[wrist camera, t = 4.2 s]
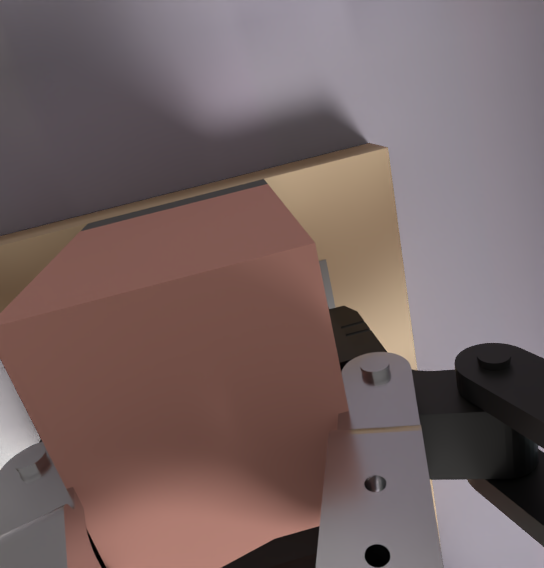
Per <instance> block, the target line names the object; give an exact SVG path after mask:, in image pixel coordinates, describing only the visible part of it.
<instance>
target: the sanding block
mask: <svg viewBox="0 0 544 568" xmlns="http://www.w3.org/2000/svg"><path fill="white" fill-rule="evenodd" d="M0 359H1V361H2V363H3V365H4V367H5V369H6V371H7V373H8V375H9V377H10V379H11V381H12V383H13V385H14V387H15V389H16V391H17V393H18V395H19V397H20V399H21V400H22V402H23V404H24V406H25V408H26V410H27V412H28V414H29V416H30V418H31V420H32V422H33V424H34V426H35V428H36V430H37V432H38V434H39V436H40V438H41V440H42V442H43V444H44V446H45V448H46V450H47V452H48V454H49V456H50V458H51V460H52V462H53V464H54V466H55V468H56V469H57V471H58V473H59V475H60V477H61V479H62V481H63V483H64V485H65V487H66V489H68V488H71V487H73V488H74V490H75V492H76V494H77V496H78V498H79V500H80V502H81V504H82V506H83V508H84V514H85V522H86V529H87V531H88V533H89V535H90V537H91V539H92V540H93V542H94V544H95V546H96V548H97V550H98V552H99V554H100V556H101V558H102V560H103V562H104V564H105V566H106V568H221V567H223V566H225V565H227V564H229V563H230V562H232V561H234V560H236V559H238V558H240V557H242V556H244V555H245V554H247V553H249V552H251V551H253V550H255V549H257V548H258V547H260V546H262V545H264V544H266V543H268V542H270V541H271V540H273V539H276V538H279V537H283V536H286V535H290V534H293V533H297V532H300V531H304V530H307V529H311V528H314V527H318V526H320V516H321V506H322V495H323V485H324V474H325V464H326V453H327V443H328V435H329V432H330V430H337V426H338V414H339V413H343V412H347V411H349V408H348V403H347V398H346V393H345V388H344V383H343V378H342V373H341V368H340V363H339V358H338V353H337V349H336V344H335V339H334V334H333V329H332V324H331V319H330V314H329V309H328V304H327V299H326V294H325V289H324V284H323V279H322V274H321V269H320V264H319V259H318V254H317V249H316V244H315V242H314V241H313V240H312V238H311V237H310V236H309V235H308V233H307V232H306V231H305V230H304V228H303V227H302V226H301V225H300V223H299V222H298V221H297V220H296V218H295V217H294V216H293V215H292V213H291V212H290V211H289V210H288V208H287V207H286V206H285V205H284V203H283V202H282V201H281V200H280V198H279V197H278V196H277V195H276V193H275V192H274V191H273V190H272V188H271V187H270V186H269V185H268V183H267V182H266V181H265V180H264V179H262V180H258V181H254V182H250V183H246V184H242V185H238V186H234V187H230V188H226V189H222V190H218V191H214V192H210V193H206V194H202V195H198V196H195V197H191V198H187V199H183V200H179V201H175V202H171V203H167V204H163V205H159V206H155V207H151V208H147V209H143V210H139V211H135V212H131V213H127V214H123V215H120V216H116V217H112V218H108V219H104V220H100V221H96V222H92V223H88V224H87V225H86V226H85V227H84V228H83V229H82V230H81V231H80V232H79V233H78V234H77V235H76V236H75V237H74V238H73V239H72V240H71V241H70V242H69V243H68V244H67V245H66V246H65V247H64V248H63V249H62V250H61V251H60V252H59V253H58V255H57V256H56V257H55V258H54V259H53V260H52V261H51V262H50V263H49V264H48V265H47V266H46V267H45V268H44V269H43V270H42V271H41V272H40V273H39V274H38V275H37V276H36V277H35V278H34V279H33V280H32V281H31V282H30V283H29V284H28V285H27V286H26V287H25V288H24V289H23V290H22V291H21V292H20V294H19V295H18V296H17V297H16V298H15V299H14V300H13V301H12V302H11V303H10V304H9V305H8V306H7V307H6V308H5V309H4V310H3V311H2V312H1V313H0Z"/></svg>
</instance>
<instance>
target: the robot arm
mask: <svg viewBox="0 0 544 568" xmlns="http://www.w3.org/2000/svg"><path fill="white" fill-rule="evenodd" d="M328 309H329V307H328ZM329 314H330V319H331V324H332V329H333V334H334V339H335V344H336V349H337V353H338V358H339V363H340V368H341V373H342V378H343V383H344V388H345V393H346V398H347V403H348V408H349V411H347V412H343V413H339V414H338V426H337V430H330V432H329V435H328V443H327V453H326V464H325V474H324V485H323V495H322V506H321V516H320V526H318V527H314V528H311V529H307V530H304V531H300V532H297V533H293V534H290V535H286V536H283V537H279V538H276V539H273V540H271V541H270V542H268V543H266V544H264V545H262V546H260V547H258V548H257V549H255V550H253V551H251V552H249V553H247V554H245V555H244V556H242V557H240V558H238V559H236V560H234V561H232V562H230V563H229V564H227V565H225V566H223V567H221V568H444V566H443V560H442V553H441V547H440V541H439V535H438V528H437V522H436V516H435V510H434V503H433V497H432V491H431V485H430V480H442V479H467V480H468V482H469V483H470V485H471V486H472V487H473V488H474V489H475V490H476V491H478V492H479V493H480V494H481V495H482V496H484V497H485V498H486V499H487V500H488V501H490V502H491V503H492V504H493V505H494V506H496V507H497V508H498V509H499V510H500V511H502V512H503V513H504V514H505V515H506V516H507V517H509V518H510V519H511V520H512V521H513V522H515V523H516V524H517V525H518V526H519V527H521V528H522V529H523V530H524V531H525V532H527V533H528V534H529V535H530V536H531V537H533V538H534V539H535V540H536V541H537V542H539V543H540V544H541V545H542V546H543V547H544V452H542V451H540V450H539V449H538V445H539V446H541V447H542V448H544V358H541V357H539V356H537V355H535V354H532V353H530V352H528V351H526V350H524V349H521V348H519V347H516V346H512V345H508V344H502V343H485V344H479V345H475V346H471V347H469V348H466V349H465V350H463V351H461V352H460V353H459V354H458V355H457V357H456V359H455V370H443V371H418V370H413V369H411V365H410V363H409V362H408V361H407V360H406V359H405V358H404V357H402V356H400V355H397V354H394V353H389V352H387V351H386V350H385V348H384V347H383V346H382V344H381V343H380V341H379V340H378V339H377V337H376V336H375V335H374V333H373V332H372V331H371V330H370V328H369V327H368V325H367V324H366V322H364V320H363V318H362V317H361V316H360V314H359V313H358V312H357V311H355V310H353V309H351V308H348V307H346V306H340V307H336V308H332V309H329ZM0 568H106V566H105V564H104V562H103V560H102V558H101V556H100V554H99V552H98V550H97V548H96V546H95V544H94V542H93V540H92V539H91V537H90V535H89V533H88V531H87V529H86V522H85V514H84V508H83V506H82V504H81V502H80V500H79V498H78V496H77V494H76V492H75V490H74V488H73V487H71V488H68V489H66V487H65V485H64V483H63V481H62V479H61V477H60V475H59V473H58V471H57V469H56V468H55V466H54V464H53V462H52V460H51V458H50V456H49V454H48V452H47V450H46V448H45V446H44V444H43V442H42V440H40V442H39V443H37V444H35V445H32V446H30V447H28V448H26V449H25V450H23V451H21V452H20V453H18V454H17V455H15V456H14V457H13V458H12V459H10V460H9V461H8V462H7V463H6V464H5V465H4V466H3V467H2V469H1V470H0Z"/></svg>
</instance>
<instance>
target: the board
mask: <svg viewBox="0 0 544 568" xmlns="http://www.w3.org/2000/svg"><path fill="white" fill-rule="evenodd" d="M262 179H264V180H265V181H266V182H267V183H268V185H269V186H270V187H271V188H272V190H273V191H274V192H275V193H276V195H277V196H278V197H279V198H280V200H281V201H282V202H283V203H284V205H285V206H286V207H287V208H288V210H289V211H290V212H291V213H292V215H293V216H294V217H295V218H296V220H297V221H298V222H299V223H300V225H301V226H302V227H303V228H304V230H305V231H306V232H307V233H308V235H309V236H310V237H311V238H312V240H313V241H314V242H315V244H316V249H317V254H318V259H319V264H320V269H321V274H322V279H323V284H324V289H325V294H326V299H327V304H328V307H329V309H332V308H336V307H340V306H346V307H348V308H351V309H353V310H355V311H357V312H358V313H359V314H360V316H361V317H362V318H363V320H364V322H366V324H367V325H368V327H369V328H370V330H371V331H372V332H373V333H374V335H375V336H376V337H377V339H378V340H379V341H380V343H381V344H382V346H383V347H384V348H385V350H386V351H387V352H389V353H394V354H397V355H400V356H402V357H404V358H405V359H406V360H407V361H408V362H409V363H410V365H411V369H413V370H417V364H416V357H415V349H414V342H413V334H412V326H411V319H410V311H409V304H408V296H407V289H406V281H405V273H404V266H403V258H402V251H401V243H400V236H399V228H398V221H397V213H396V205H395V198H394V190H393V183H392V175H391V168H390V160H389V152H388V147H384V146H379V145H375V144H371V143H367V144H363V145H359V146H355V147H351V148H347V149H343V150H340V151H336V152H332V153H328V154H324V155H320V156H316V157H312V158H308V159H304V160H300V161H296V162H292V163H288V164H284V165H280V166H276V167H272V168H268V169H264V170H260V171H256V172H252V173H248V174H244V175H240V176H236V177H233V178H229V179H225V180H221V181H217V182H213V183H209V184H205V185H201V186H197V187H193V188H189V189H185V190H181V191H177V192H173V193H169V194H165V195H161V196H157V197H153V198H149V199H145V200H141V201H137V202H133V203H129V204H126V205H122V206H118V207H114V208H110V209H106V210H102V211H98V212H94V213H90V214H86V215H82V216H78V217H74V218H70V219H66V220H62V221H58V222H54V223H50V224H46V225H42V226H38V227H34V228H30V229H26V230H22V231H19V232H15V233H11V234H7V235H3V236H0V313H1V312H2V311H3V310H4V309H5V308H6V307H7V306H8V305H9V304H10V303H11V302H12V301H13V300H14V299H15V298H16V297H17V296H18V295H19V294H20V292H21V291H22V290H23V289H24V288H25V287H26V286H27V285H28V284H29V283H30V282H31V281H32V280H33V279H34V278H35V277H36V276H37V275H38V274H39V273H40V272H41V271H42V270H43V269H44V268H45V267H46V266H47V265H48V264H49V263H50V262H51V261H52V260H53V259H54V258H55V257H56V256H57V255H58V253H59V252H60V251H61V250H62V249H63V248H64V247H65V246H66V245H67V244H68V243H69V242H70V241H71V240H72V239H73V238H74V237H75V236H76V235H77V234H78V233H79V232H80V231H81V230H82V229H83V228H84V227H85V226H86V225H87V224H88V223H92V222H96V221H100V220H104V219H108V218H112V217H116V216H120V215H123V214H127V213H131V212H135V211H139V210H143V209H147V208H151V207H155V206H159V205H163V204H167V203H171V202H175V201H179V200H183V199H187V198H191V197H195V196H198V195H202V194H206V193H210V192H214V191H218V190H222V189H226V188H230V187H234V186H238V185H242V184H246V183H250V182H254V181H258V180H262ZM430 485H431V491H432V497H433V503H434V510H435V516H436V508H435V501H434V493H433V485H432V480H430ZM436 522H437V516H436ZM437 528H438V523H437ZM438 535H439V531H438ZM439 541H440V538H439ZM440 547H441V546H440Z"/></svg>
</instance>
